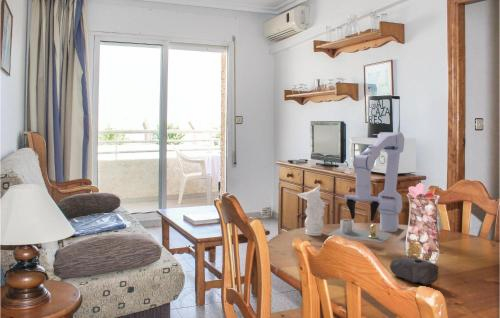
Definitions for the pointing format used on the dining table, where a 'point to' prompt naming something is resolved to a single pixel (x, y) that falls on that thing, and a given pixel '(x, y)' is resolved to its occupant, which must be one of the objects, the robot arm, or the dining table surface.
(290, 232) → the dining table surface
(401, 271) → the perforated stone tool
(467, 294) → the dining table surface
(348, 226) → the steel collar
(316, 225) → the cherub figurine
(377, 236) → the post board
